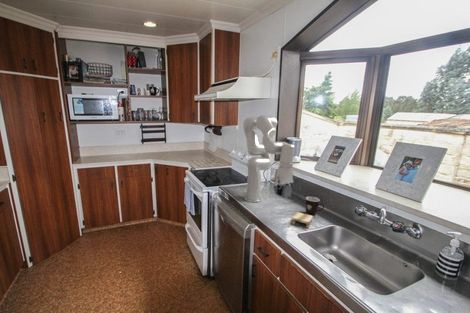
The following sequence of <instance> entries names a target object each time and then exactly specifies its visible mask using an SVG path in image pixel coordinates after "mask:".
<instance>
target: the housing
mask: <svg viewBox="0 0 470 313" xmlns="http://www.w3.org/2000/svg"><path fill="white" fill-rule="evenodd" d="M279 186H280V185H279ZM274 187H275V189H274V194H275V195H277V187H276V186H274ZM281 189H282V193H281V196H280V195H278V196H279V197H281V198H283V199H284V198H291V196H292V190H293V187H292V186H291V187H290V186H288V185H286V184H283V185H282V188H281Z"/></svg>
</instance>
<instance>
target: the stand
mask: <svg viewBox="0 0 470 313" xmlns="http://www.w3.org/2000/svg"><path fill="white" fill-rule="evenodd" d="M313 218H314V215H308V214H306V213H302V212H299V211H296V212H295V213H294V214H293V216H292V217H291V223H290V224H291V225H295V224H296V222H299V223H303V224H305V229H308V230H309V229H310V226H311V224H312V223H313Z"/></svg>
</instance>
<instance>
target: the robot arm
mask: <svg viewBox="0 0 470 313" xmlns="http://www.w3.org/2000/svg"><path fill="white" fill-rule="evenodd" d="M277 126H278V120H277V118H276V117H275V116H273V115H259V116H258V117H247V118H245V119H244V120H243V126H242V128H243V132H244V135H245V139H246V148H247V152H248V155H249V156H253V157H250V158H249V159H247V160H248V161H247V162H246V164H247V182H246V191H243V190H242V191H241V195H242V196H243V199H244V200H245V201H246V202H248V203H258V202H261V201H262V197H260V192H261V191H260V190H261V180H262V179H261V178H262V176H261V173H260V171H268V170H269V169H271V167H272V159H271V158H272V157H271V155H280V156H279V165H278V167H277V169H276V170H277V171H276V175H275V180H274V182H273V185H275V187H277V194H276V195H277V196H279V195H280V196H279V197H281V193H282V189H281V188H282V185H283V184H286V185H288V186H290V187H292V184H294V181H295V180H294V179H293V177H294V168H293V166H294V156H295V148H296V147H295V145H294V144H292V143H288V142H286V141H272V140H271V139H272V138H273V137H274V136H275V135H276V133H277V130H276V127H277ZM255 130H256V131H257V130H259V131H260V132H261V133H262V139H261V140H262V142H259V136H258V134H257V132H256V131H255ZM279 185H280V186H279Z"/></svg>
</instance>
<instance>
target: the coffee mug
mask: <svg viewBox="0 0 470 313" xmlns="http://www.w3.org/2000/svg"><path fill="white" fill-rule="evenodd" d="M320 205H321V206H322V208H321V209H318V207H319V206H320ZM324 208H325V207H324V204H323V203H320V199H319V198H318V197H314V196H306V197H305V214H307V215H311V216H316V214H317V212H320V211H323V209H324Z"/></svg>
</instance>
